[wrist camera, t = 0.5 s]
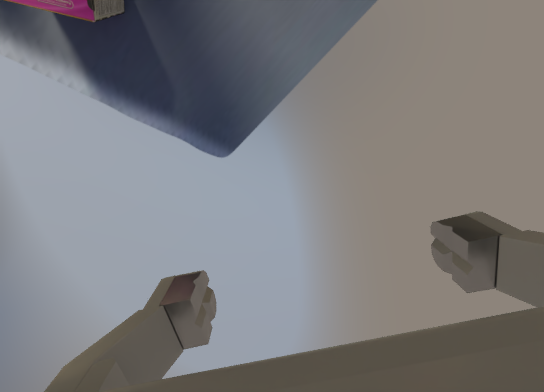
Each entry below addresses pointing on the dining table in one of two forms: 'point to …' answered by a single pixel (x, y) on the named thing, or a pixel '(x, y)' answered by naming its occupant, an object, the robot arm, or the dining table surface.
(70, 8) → the candy bar box
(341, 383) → the robot arm
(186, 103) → the dining table surface
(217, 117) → the dining table surface
